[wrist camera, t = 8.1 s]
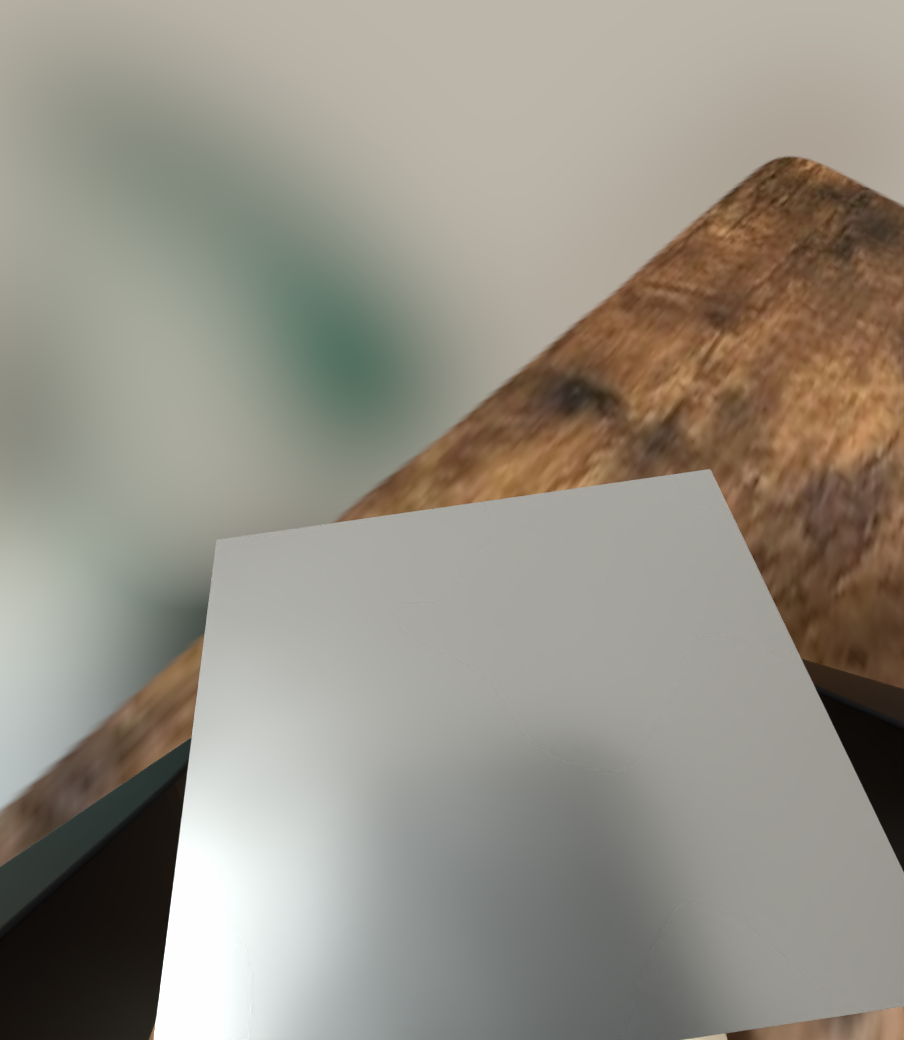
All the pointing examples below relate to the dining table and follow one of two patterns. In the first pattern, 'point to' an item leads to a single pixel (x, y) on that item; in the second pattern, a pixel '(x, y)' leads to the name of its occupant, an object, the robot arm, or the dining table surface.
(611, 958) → the brushed steel block
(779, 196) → the dining table surface
